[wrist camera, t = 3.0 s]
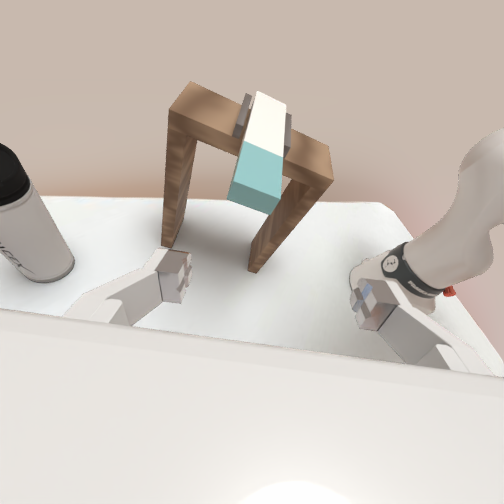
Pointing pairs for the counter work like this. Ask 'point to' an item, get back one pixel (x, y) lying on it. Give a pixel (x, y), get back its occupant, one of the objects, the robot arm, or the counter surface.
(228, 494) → the robot arm
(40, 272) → the travel mug
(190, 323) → the counter surface
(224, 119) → the bridge shelf
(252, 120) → the tab
